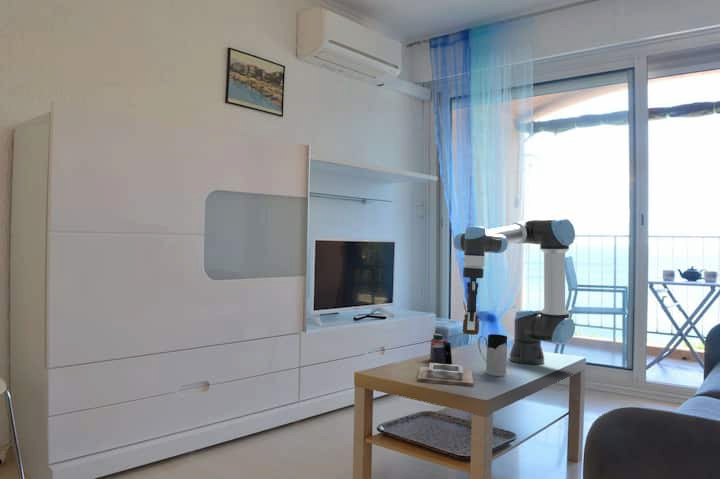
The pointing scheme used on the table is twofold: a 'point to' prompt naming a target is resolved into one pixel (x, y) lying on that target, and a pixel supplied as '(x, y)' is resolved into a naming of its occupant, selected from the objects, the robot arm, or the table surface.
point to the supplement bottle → (436, 342)
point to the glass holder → (495, 354)
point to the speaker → (442, 353)
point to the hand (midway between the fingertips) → (470, 328)
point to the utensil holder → (471, 332)
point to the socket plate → (445, 374)
